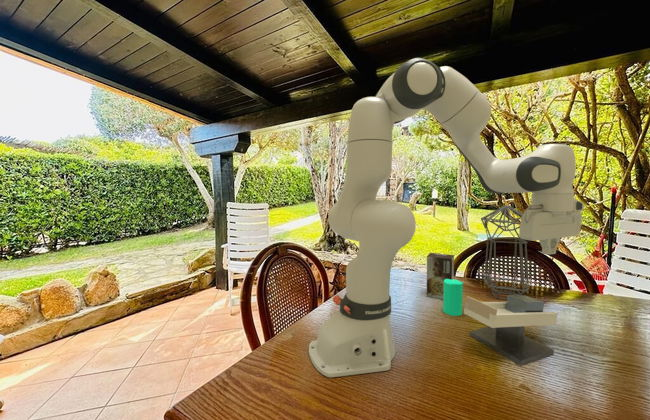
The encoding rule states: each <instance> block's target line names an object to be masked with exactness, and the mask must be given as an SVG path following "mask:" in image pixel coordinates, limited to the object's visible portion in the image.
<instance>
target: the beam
mask: <svg viewBox="0 0 650 420" xmlns="http://www.w3.org/2000/svg"><path fill="white" fill-rule="evenodd" d="M464 301H465V302H464V309H463V314H465V315H466V316H469V317H471V318H472V319H474V320H476V321H478V322H479V323H482V324H483V325H485V326H487V327H488V326H489V327H491V328H499V327H518V326H524V327H532V326H553V325H556V324H557V319H558V314H559V313H558V312H554V311H543V312H529V313H513V312H511V311H508V310H506V303H507V301H480V300H477V299H476V298H474V297H471V296H465V300H464Z"/></svg>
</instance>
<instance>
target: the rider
mask: <svg viewBox="0 0 650 420" xmlns="http://www.w3.org/2000/svg"><path fill="white" fill-rule="evenodd" d="M506 298H507V299H506V302H507V303H506V310H508V311H511V312H513V313H529V312H544V306H545V301H542V300H540V299H536V298H533V297H531V296H527V295H523V294H521V295H513V294H507V296H506Z"/></svg>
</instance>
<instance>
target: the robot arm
mask: <svg viewBox="0 0 650 420" xmlns="http://www.w3.org/2000/svg"><path fill="white" fill-rule="evenodd" d="M491 106H492V105H491V104H490V102H489V101H488V98H487V97H486V95H484V94H483V93H482V92H481V90H479V89H478V88H477V87H476V85H474V83H472V82H471V81H470V80H469V79H468V78H467V77H466V76H465V75H463V74H462V73H460V72H459V71H457V70H456V69H454V68H453V67H451V66H448V65H444V66H438V65H436V64H435V63H434V62H432V61H431V60H429V59H426V58H421V57H415V58H412V59H409V60H407V61H406V62H403V63H402V64H401V65H400V66H399V67H398V68H397V69H396V70H395V71H394V72H393V73H392V74H391V75H390V76H389V77H388V78H387V79H386V80H385V82H383V84H382V86H381V87H380V89H378V91H377V92H376V94H375V96H366V97H362V98H361V99H358V100H357V101H356V102H355V103H354V104H353V107H352V108H351V112H350V116H349V123H348V129H347V146H346V148H347V152H346V169H345V172H346V173H345V177H344V178H345V179H344V182H343V186H342V188H341V191H340V195H339V196H338V199H337V200H336V202H335V203H334V204H333V205H332V206H331V207H330V209H329V212H328V217H327V218H328V219H327V220H328V225H329V228H330V229H331V230H332V231H333V232H334V233H336V235H339V236H340V237H342V238H344V239H346V240H349V241H354V242H358V244H359V246H358V250H357V254H356V257H355V258H353V259H352V260H350V261H349V262H348V263H347V264H346V268H345V286H346V287H345V291H346V292H345V293H344V296H343V298H342V297H340V295H336V294H335V295H334V296H333V298H332V300H333V302H334V304H335V305H337V306H339V309H338V310H337V311H336V312H335V313H333V314H332V316H330V317H329V318H327V319H326V320H325V321H324V322H323V323H322V324H321V325H320V327H319V328H318V332H317V338H316V339H315V340H312V341H310V343H309V345H308V356H309V359H310V361H311V363H312V365H313V367H315V369H316V371H318V372H319V373H320V374H321V375H323V376H325V377H326V378H335V377H336V378H337V377H345V376H354V375H360V374H361V375H362V374H368V373H369V374H370V373H371V374H372V373H378V372H385V371H389V370H390V369H391V367H392V361H393V360H394V358H395V356H396V353H397V352H396V351H397V350H396V346H395V343H394V338H393V333H392V327H391V326H392V325H391V313H392V297H391V295H390V286H391V285H390V284H391V283H390V282H391V269H392V264H393V262H394V259H395V257H396V255H397V253H398V252H399V251H400V250H401V249H402V248H403V247H405V246H406V245H407V244H409V243H410V242H411V240H412V238H413V237H414V235H415V232H416V227H417V225H416V223H417V222H416V218H415V215H414V213H413V211H412V210H411V208H410V207H408V206H407V205H405V204H402V203H399V202H395V201H392V200H385V199H384V200H382V199H381V200H380V199H377V196H378V192H379V190H380V188H381V187H382V185H383V184H384V183H386V182H387V181H388V180H389V179H390V177H391V174H392V172H393V171H392V165H393V129H394V126H395V125H397V124H400V123H402V122H403V121H405V120H406V119H408V118H410V117H413V116H415V115H416V114H417V113H419V112H420V111H421V110H423V111H426V112H428V113H430V114H431V115H432V116H433V117H434V118H435V119H436V120H437V122H439V123H440V125H442V127H443V128H444V129H445V130H446V131H447V133H448V134H449V135H450V138H451V141H452V143H453V144H454V146H455V148H456V149H457V150H458V152H459V153H460V154H461V156H463V158H464V160H466V162H467V163H468V164H469V165H470V167H471V168H472V169H473V171H474V172H475V174H476V176H477V178H478V180H479V183H480V185H481V188H482V189H484V190H485V191H486V192H487V193H490V194H494V195H497V194H506V193H507V194H519V193H523V194H524V193H525V194H527V193H531V201H530V202H531V203H530V205H528V207H527V208H526V209H525V210H524V212H522V213H523V215H522V218H521V217H520V218H521V219H520V222H521V223H520V224H519V226H520V228H519V229H518V230H519V233H518V234H519V236H520V238H521V239H522V240H524V239H525V241H532V242H533V241H539V244H540V246H541V248H542V249H541V254H543V255H546V256H547V255H548V256H550V255H555V254H557V248H558V245H559V244H560V242H561V238H569V237H578V236H579V234H580V232H581V229H582V228H581V227H582V211H583V210H584V208H585V205H584V202H582V201H581V200H578V199H577V198H576V197H575V190H574V188H573V183H574V180H575V178H576V155H575V151H574V148H573V147H572V146H571V145H568V144H565V143H545V144H540V145H539V146H537V147H536V149H534V151H531V152H529V153H527V154H525V155H522V156H520V157H514V158H508V159H502V158H498V157H496V156H494V155H493V154H492V152H491V151H490V150H489V147H487V145H486V144H485V143H484V141H482V139H481V135H480V134H481V133H482V132H483V130H485V128H486V127H487V125H488V124H489V122H490V119H491V116H492V107H491Z"/></svg>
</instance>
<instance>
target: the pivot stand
mask: <svg viewBox="0 0 650 420" xmlns="http://www.w3.org/2000/svg"><path fill="white" fill-rule="evenodd" d="M469 336H470V337H471V338H473V339H475V340H477V341H478V342H480V343H482V344H483V345H485V346H487V347H488V348H491V349H492V350H494V351H495V352H496V353H498V354H501V355H502V356H504V357H505V358H507V359H508V360H510V361H512V362H514V363H515V364H517V365H519V366H520V367H522V366H524V365H527V364H529V363H533V362H535V361H536V362H537V361H538V360H541V359H544V358H546V357H550V356H553V355H555V354H554V353H555V349H553V348H551V347H549V346H547V345H545V344H543V343H540V342H539V341H537V340H536V339H533V338H531V337H529V336H526V335H525V326H518V327H499V328H491V327H489V326H488V325H487V326H485V327H480V328H478V329H473V330H470V331H469Z"/></svg>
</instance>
